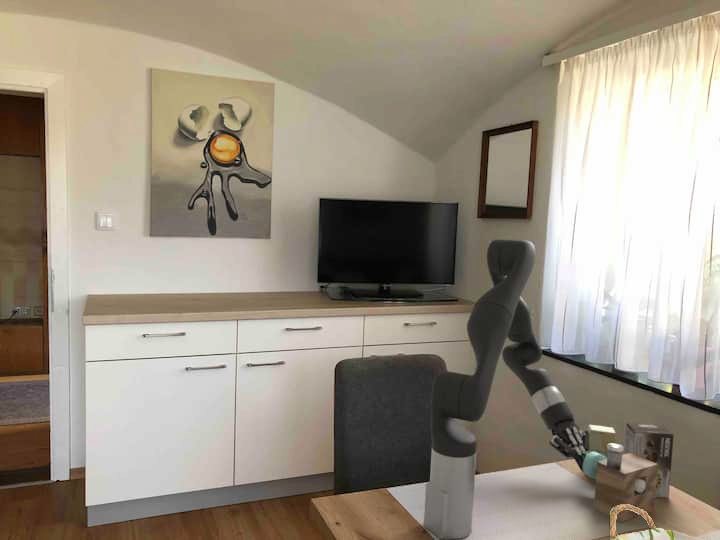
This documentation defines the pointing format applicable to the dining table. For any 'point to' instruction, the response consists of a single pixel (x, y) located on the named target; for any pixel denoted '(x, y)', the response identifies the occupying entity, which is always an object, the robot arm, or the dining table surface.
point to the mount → (625, 485)
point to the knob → (591, 469)
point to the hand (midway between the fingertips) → (588, 471)
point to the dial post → (614, 456)
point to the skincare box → (600, 439)
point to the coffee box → (652, 450)
